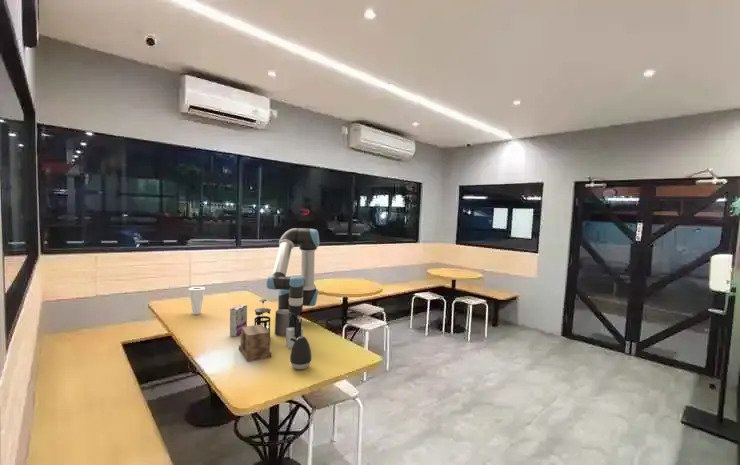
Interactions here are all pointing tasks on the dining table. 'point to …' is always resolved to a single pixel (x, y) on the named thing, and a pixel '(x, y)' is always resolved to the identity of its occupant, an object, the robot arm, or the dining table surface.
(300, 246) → the robot arm
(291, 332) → the white carton
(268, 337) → the wooden slotted holder
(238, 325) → the candy bar box
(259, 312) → the french press
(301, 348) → the pump dispenser
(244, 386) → the dining table surface
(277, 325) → the pillar candle
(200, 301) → the cup
